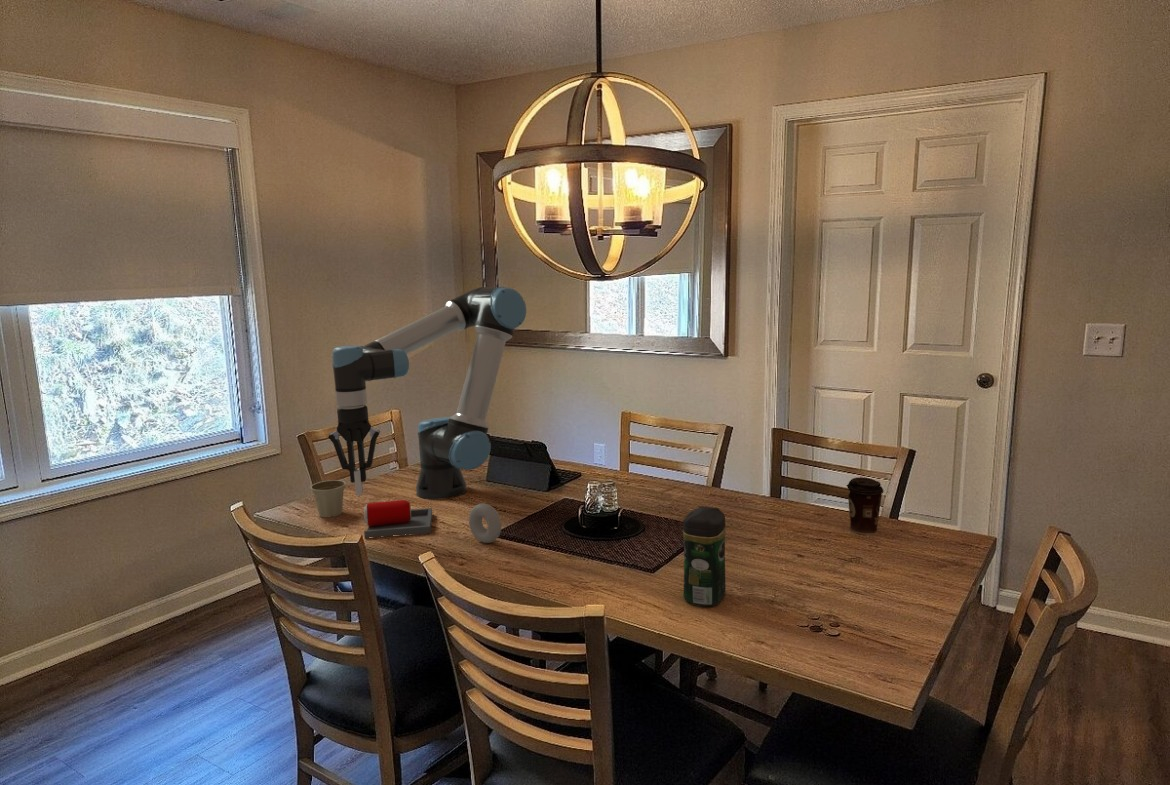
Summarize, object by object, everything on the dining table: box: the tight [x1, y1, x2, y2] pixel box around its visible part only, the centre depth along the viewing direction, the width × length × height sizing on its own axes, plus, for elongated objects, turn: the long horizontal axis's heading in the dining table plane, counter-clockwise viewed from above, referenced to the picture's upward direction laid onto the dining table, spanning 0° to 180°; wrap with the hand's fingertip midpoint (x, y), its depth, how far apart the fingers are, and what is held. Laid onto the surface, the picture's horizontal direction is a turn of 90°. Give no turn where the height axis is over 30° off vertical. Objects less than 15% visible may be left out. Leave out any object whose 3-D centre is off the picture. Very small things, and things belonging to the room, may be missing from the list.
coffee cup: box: [846, 477, 884, 536], centre depth 182 cm, size 9×8×13 cm
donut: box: [468, 503, 502, 544], centre depth 180 cm, size 10×4×10 cm, turn 54°
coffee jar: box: [682, 505, 727, 607], centre depth 147 cm, size 10×8×19 cm
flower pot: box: [309, 479, 347, 519], centre depth 204 cm, size 9×9×9 cm
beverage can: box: [363, 499, 412, 527], centre depth 194 cm, size 6×6×12 cm
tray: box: [363, 507, 433, 540], centre depth 194 cm, size 16×15×2 cm
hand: (359, 493), depth 191 cm, fingers closed
